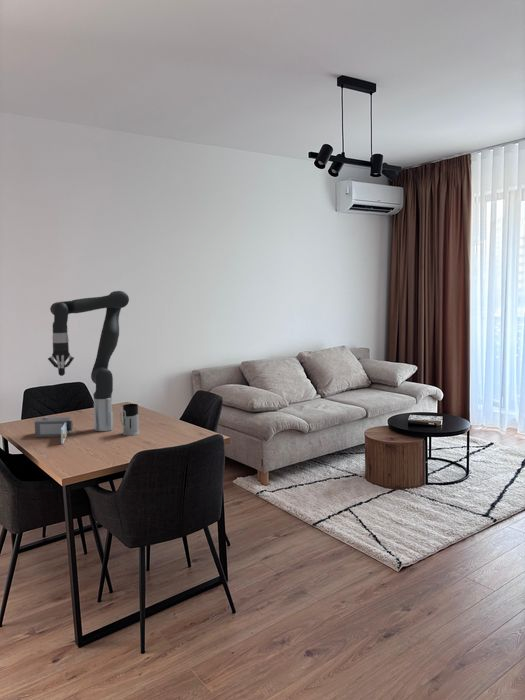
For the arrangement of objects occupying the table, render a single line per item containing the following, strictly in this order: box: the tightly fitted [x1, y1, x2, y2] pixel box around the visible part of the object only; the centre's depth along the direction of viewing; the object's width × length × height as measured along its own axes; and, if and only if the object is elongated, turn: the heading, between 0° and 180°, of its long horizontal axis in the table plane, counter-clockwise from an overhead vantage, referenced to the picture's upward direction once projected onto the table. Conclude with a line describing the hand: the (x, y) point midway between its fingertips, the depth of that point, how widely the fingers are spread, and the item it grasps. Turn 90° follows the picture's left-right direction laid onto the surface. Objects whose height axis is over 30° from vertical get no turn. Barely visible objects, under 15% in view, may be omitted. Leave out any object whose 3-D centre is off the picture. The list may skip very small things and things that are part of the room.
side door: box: [60, 422, 68, 445], centre depth 271 cm, size 16×2×7 cm, turn 13°
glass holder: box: [119, 403, 140, 437], centre depth 281 cm, size 9×14×15 cm, turn 164°
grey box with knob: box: [34, 416, 74, 438], centre depth 283 cm, size 17×10×9 cm, turn 96°
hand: (61, 375), depth 279 cm, fingers closed
